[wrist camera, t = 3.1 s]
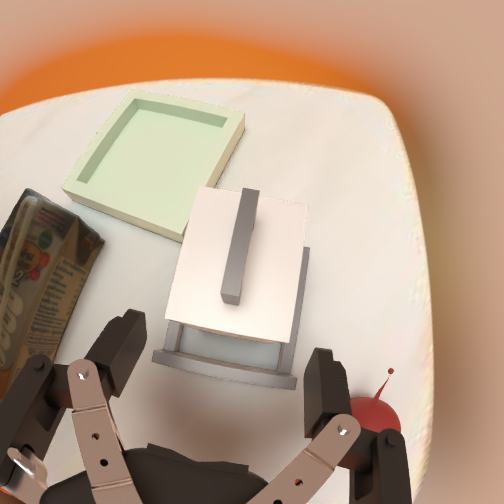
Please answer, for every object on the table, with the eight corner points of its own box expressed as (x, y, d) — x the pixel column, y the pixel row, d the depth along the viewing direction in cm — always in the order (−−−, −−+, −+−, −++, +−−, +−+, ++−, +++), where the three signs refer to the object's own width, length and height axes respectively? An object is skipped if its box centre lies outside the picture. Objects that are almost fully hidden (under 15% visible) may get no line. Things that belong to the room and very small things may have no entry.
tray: (72, 200, 24) (61, 188, 22) (137, 105, 28) (132, 89, 26) (186, 245, 24) (181, 234, 21) (244, 129, 27) (245, 112, 25)
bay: (166, 358, 21) (151, 361, 17) (195, 232, 24) (187, 212, 20) (285, 382, 21) (294, 390, 17) (305, 253, 24) (318, 236, 20)
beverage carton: (112, 241, 24) (77, 210, 17) (40, 421, 18) (-3, 433, 12) (56, 211, 24) (20, 180, 18) (-9, 374, 19) (-51, 373, 12)
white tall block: (199, 330, 22) (146, 311, 9) (216, 254, 23) (193, 151, 11) (264, 342, 22) (301, 342, 9) (277, 265, 23) (322, 174, 11)
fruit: (375, 408, 22) (427, 369, 17) (374, 466, 18) (435, 444, 12) (312, 403, 22) (353, 362, 17) (306, 465, 18) (352, 449, 12)
